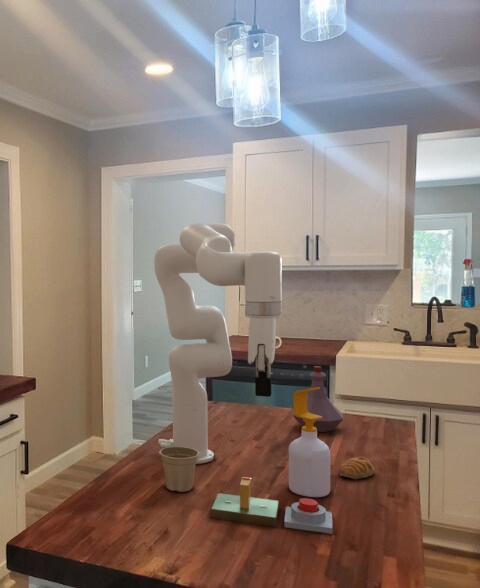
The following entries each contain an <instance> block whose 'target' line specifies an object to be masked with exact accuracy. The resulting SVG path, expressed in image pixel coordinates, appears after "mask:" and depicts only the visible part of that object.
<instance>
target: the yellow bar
mask: <svg viewBox="0 0 480 588" xmlns="http://www.w3.org/2000/svg"><path fill="white" fill-rule="evenodd" d="M239 496H240V508H245V509H249V506H250V503H251V497H252V478H251V477H249V476H242V477H241V480H240V483H239Z"/></svg>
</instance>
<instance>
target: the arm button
mask: <svg viewBox="0 0 480 588" xmlns="http://www.w3.org/2000/svg"><path fill="white" fill-rule="evenodd" d="M298 502H299V509H300V510H302V511H305V512H317V511H318V505H319V503H318V501H317V500H315V499H313V498H310V497H304V498H299V500H298Z"/></svg>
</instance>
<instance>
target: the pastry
mask: <svg viewBox="0 0 480 588" xmlns="http://www.w3.org/2000/svg"><path fill="white" fill-rule="evenodd" d="M375 471H376V469H375V468H374V466H373V464H372V462H371V460H369V458H367V457H364V456H354V457H352V458H350V459H349V458H348V459H346V460H345V461H344V462H342V464H340V467H339V470H338V472H339V475H340V476H339V477H346V478H348V479H353V480H358V479H363V478H369V477H370V476H373V475H374V473H375Z"/></svg>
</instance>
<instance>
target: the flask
mask: <svg viewBox="0 0 480 588" xmlns="http://www.w3.org/2000/svg"><path fill="white" fill-rule="evenodd" d="M309 377H310V379H311V386H310V388H317V387H320V389H315V390H310V391H308V395H307V410H308V412H309V413H312V414H316V415H319V416H322V419H317V420H316V422H313V427H316V428H317V433H318V432H319V433H325V432H331V431H334V429H335V428H336V427H338V425H339V424H341V423H342V421H343V420H344V414H343V413H342V412H341V410H339V408H337V406H335V405H334V404H333V402H332V401H331V399H330V398H328V396H327V391H326V388H325V383H324V380H325V378H326V377H327V376H326V374H325V373H323V372H322V366H321V365H320V366H319V365H314V366H313V371H312V372H311V373H310V374H309ZM292 417H293V418H294V419H295V420H296V421H297V422H298V424H299V426H301V428H302V427H303V426H305V422H304V421H303V418H300V417H297V416H295V414H294V410H293V411H292Z"/></svg>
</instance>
